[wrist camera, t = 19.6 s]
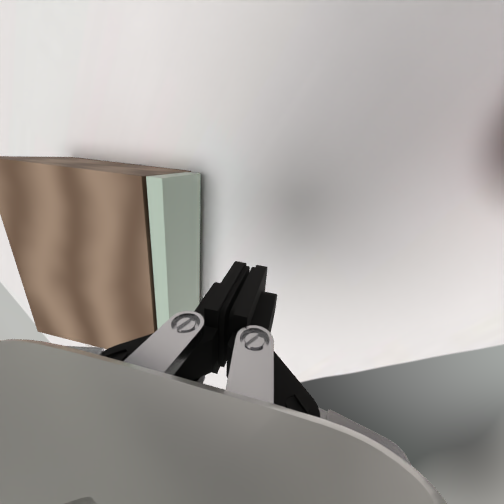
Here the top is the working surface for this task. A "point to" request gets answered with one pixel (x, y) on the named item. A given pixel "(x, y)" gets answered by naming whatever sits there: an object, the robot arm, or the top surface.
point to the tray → (175, 241)
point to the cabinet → (82, 245)
